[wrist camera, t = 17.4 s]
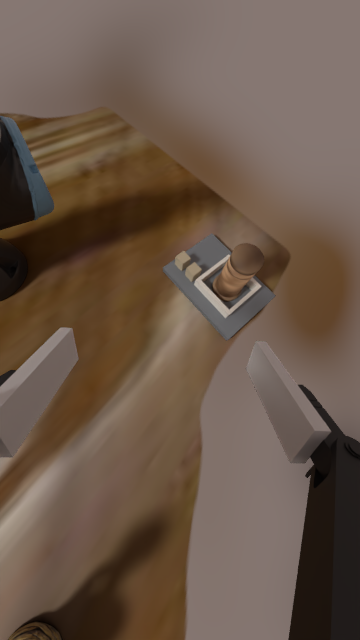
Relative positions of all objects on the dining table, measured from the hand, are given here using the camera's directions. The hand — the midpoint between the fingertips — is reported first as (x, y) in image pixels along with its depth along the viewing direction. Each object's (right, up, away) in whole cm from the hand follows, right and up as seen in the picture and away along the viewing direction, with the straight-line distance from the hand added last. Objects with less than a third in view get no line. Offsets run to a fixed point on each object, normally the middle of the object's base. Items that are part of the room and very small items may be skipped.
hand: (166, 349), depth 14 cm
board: (+10, +11, +31) cm, 35 cm away
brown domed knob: (+12, +10, +30) cm, 33 cm away
